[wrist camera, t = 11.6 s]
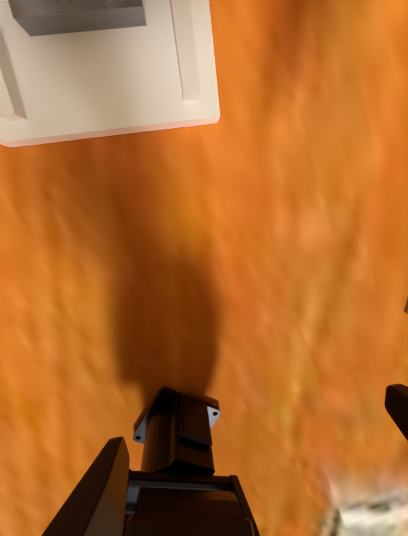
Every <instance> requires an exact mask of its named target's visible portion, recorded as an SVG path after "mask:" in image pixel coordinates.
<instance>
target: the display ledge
mask: <svg viewBox="0 0 408 536" xmlns="http://www.w3.org/2000/svg"><path fill="white" fill-rule="evenodd" d="M142 1H143V8H144V14H145V20H146V26H138V27H127V28H116V29H106V30H95V31H84V32H74V33H63V34H52V35H42V36H31V37H30V36H29V34H28V33H27V32H26V31H25V30H24V29H23V28H22V27H21V26H20V25H19V24H18V23H17V22H16V20H15V19H14V18H13V16H12V12H11V9H10V5H9V2H8V0H0V144H1V145H4V146H8V147H11V148H12V147H20V146H28V145H37V144H45V143H54V142H62V141H70V140H79V139H87V138H95V137H104V136H112V135H121V134H129V133H137V132H146V131H154V130H163V129H171V128H179V127H188V126H196V125H204V124H213V123H217V122H218V120H219V118H220V109H219V99H218V89H217V78H216V68H215V58H214V48H213V37H212V27H211V17H210V6H209V0H142Z"/></svg>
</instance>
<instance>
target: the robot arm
mask: <svg viewBox="0 0 408 536" xmlns="http://www.w3.org/2000/svg"><path fill="white" fill-rule="evenodd" d="M162 393H166V394H162ZM385 408H386V410H387V412H388V413H389V415H390V416H391V418H392V419H393V421H394V422H395V424H396V425H397V426H398V428H399V429H400V431H401V432H402V434H403V435H404V436H405V438H406V439H407V441H408V387H407V386H404V385H402V384H393V385H389V386H387V388H386V395H385ZM219 415H220V409H219V407H217V406H214V405H211V404H209V403H206V402H203V401H201V400H198V399H195V398H192V397H190V396H187V395H184V394H182V393H179V392H176V391H174V390H171V389H168V388H161V389H160V390H159V391H158V393H157V395H156V396H155V398H154V400H153V402H152V403H151V405H150V407H149V408H148V410H147V412H146V413H145V415H144V417H143V418H142V420H141V422H140V423H139V425H138V427H137V428H136V430H135V432H134V435H133V440H134V441H136V442H139V443H143V444H144V449H143V457H142V464H141V471H131V469H129V453H128V450H127V446H126V443H125V440H124V438H123V437H115V438H111V439H110V440H109V441H108V442H107V443H106V445H105V446H104V448H103V449H102V450H101V452H100V453H99V455H98V456H97V457H96V459H95V460H94V462H93V463H92V465H91V466H90V467H89V469H88V470H87V472H86V473H85V474H84V476H83V477H82V479H81V480H80V482H79V483H78V484H77V486H76V487H75V489H74V490H73V491H72V493H71V494H70V496H69V497H68V499H67V500H66V501H65V503H64V504H63V506H62V507H61V508H60V510H59V511H58V513H57V514H56V516H55V517H54V518H53V520H52V521H51V523H50V524H49V525H48V527H47V528H46V530H45V531H44V533H43V534H42V535H41V536H260V535H259V532H258V529H257V526H256V523H255V520H254V518H253V515H252V513H251V510H250V508H249V505H248V503H247V500H246V498H245V495H244V492H243V490H242V487H241V485H240V482H239V480H238V477H237V475H230V476H213V474H214V472H215V469H214V462H213V454H212V447H211V446H212V437H211V427H212V426H213V424H214V423H215V421H216V420H217V418H218V417H219Z"/></svg>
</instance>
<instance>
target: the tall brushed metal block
mask: <svg viewBox="0 0 408 536" xmlns="http://www.w3.org/2000/svg"><path fill="white" fill-rule="evenodd" d="M8 2H9V5H10V9H11V12H12V16H13V18H14V19H15V20H16V22H17V23H18V24H19V25H20V26H21V27H22V28H23V29H24V30H25V31H26V32H27V33H28V34H29V36H30V37H31V36H42V35H52V34H63V33H74V32H84V31H95V30H106V29H116V28H127V27H138V26H146V20H145V14H144V8H143V1H142V0H8Z"/></svg>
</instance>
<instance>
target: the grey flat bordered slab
mask: <svg viewBox="0 0 408 536" xmlns="http://www.w3.org/2000/svg"><path fill="white" fill-rule="evenodd" d="M404 312H406V313H408V299H407V303H406V306H405V310H404Z"/></svg>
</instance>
